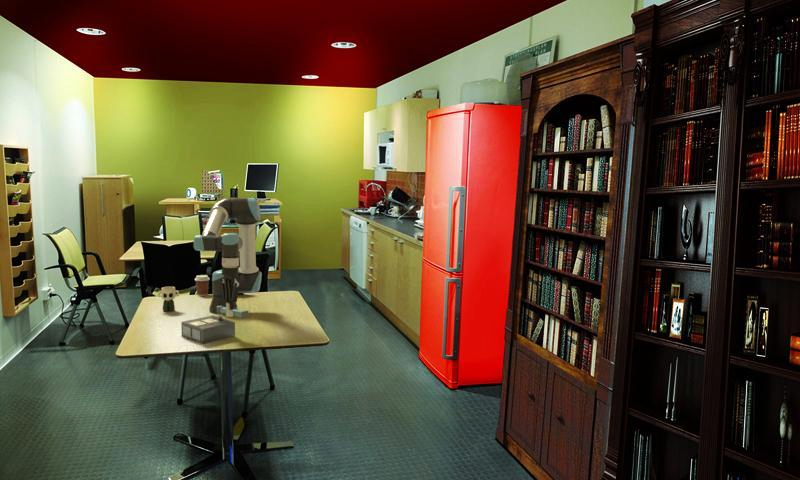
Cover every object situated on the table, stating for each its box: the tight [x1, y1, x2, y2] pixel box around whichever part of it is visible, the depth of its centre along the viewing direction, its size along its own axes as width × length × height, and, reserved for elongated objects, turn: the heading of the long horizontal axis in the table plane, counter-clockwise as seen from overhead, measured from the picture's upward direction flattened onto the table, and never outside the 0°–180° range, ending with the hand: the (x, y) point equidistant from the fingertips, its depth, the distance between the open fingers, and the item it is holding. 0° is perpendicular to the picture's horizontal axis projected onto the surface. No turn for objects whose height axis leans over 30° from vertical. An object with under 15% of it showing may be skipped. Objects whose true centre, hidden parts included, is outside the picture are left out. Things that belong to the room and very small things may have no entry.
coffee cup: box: [194, 274, 211, 297], centre depth 356 cm, size 9×9×12 cm
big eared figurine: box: [157, 286, 180, 312], centre depth 313 cm, size 11×7×13 cm, turn 107°
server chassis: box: [181, 313, 236, 345], centre depth 266 cm, size 18×17×10 cm
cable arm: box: [216, 306, 249, 320], centre depth 267 cm, size 19×3×3 cm, turn 59°
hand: (229, 316), depth 264 cm, fingers closed
